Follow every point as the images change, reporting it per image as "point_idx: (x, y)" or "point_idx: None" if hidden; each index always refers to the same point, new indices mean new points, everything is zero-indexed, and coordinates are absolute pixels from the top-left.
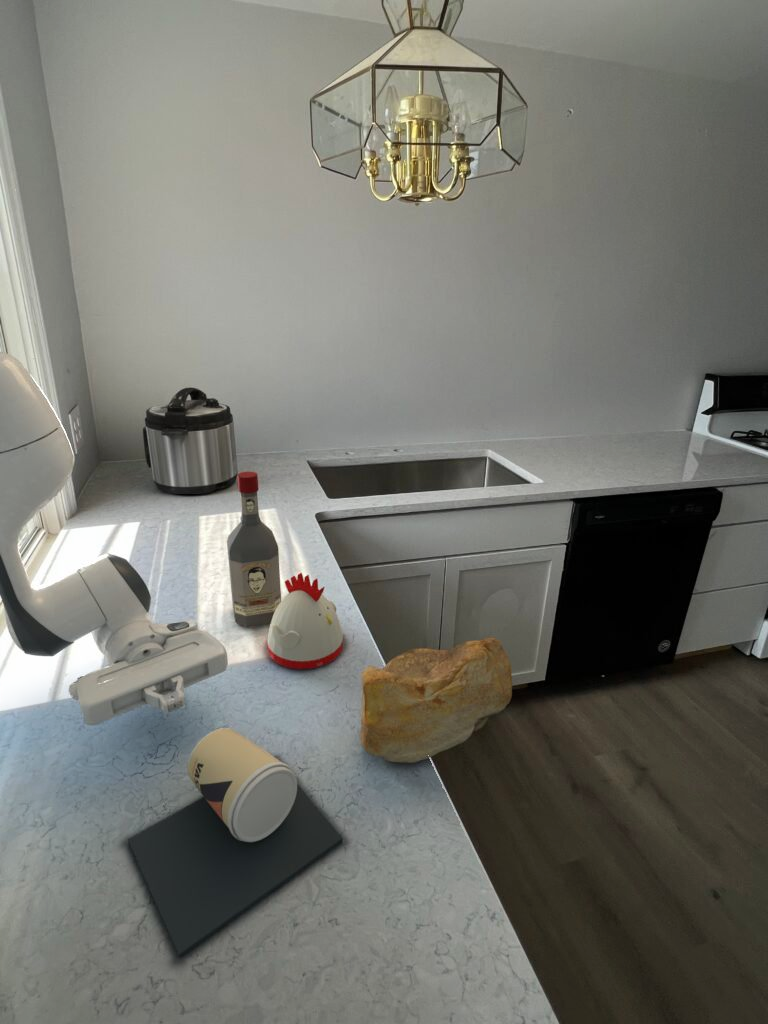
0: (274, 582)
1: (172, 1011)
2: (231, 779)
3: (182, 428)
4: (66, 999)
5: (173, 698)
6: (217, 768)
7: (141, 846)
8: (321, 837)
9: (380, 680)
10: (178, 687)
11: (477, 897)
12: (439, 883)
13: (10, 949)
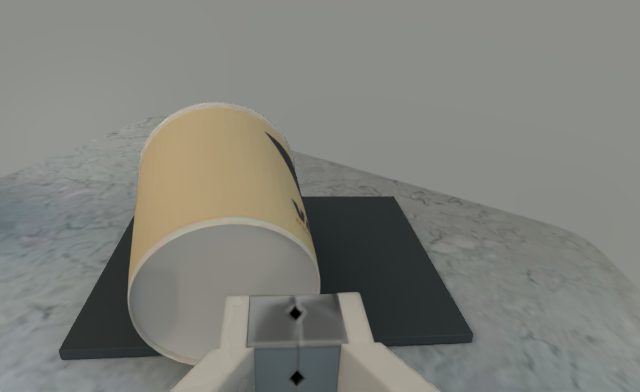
0: None
1: (405, 184)
2: (264, 134)
3: None
4: (518, 221)
5: (293, 297)
6: (273, 162)
7: (442, 308)
8: None
9: None
10: (220, 361)
11: (104, 140)
12: (114, 153)
13: (630, 283)
